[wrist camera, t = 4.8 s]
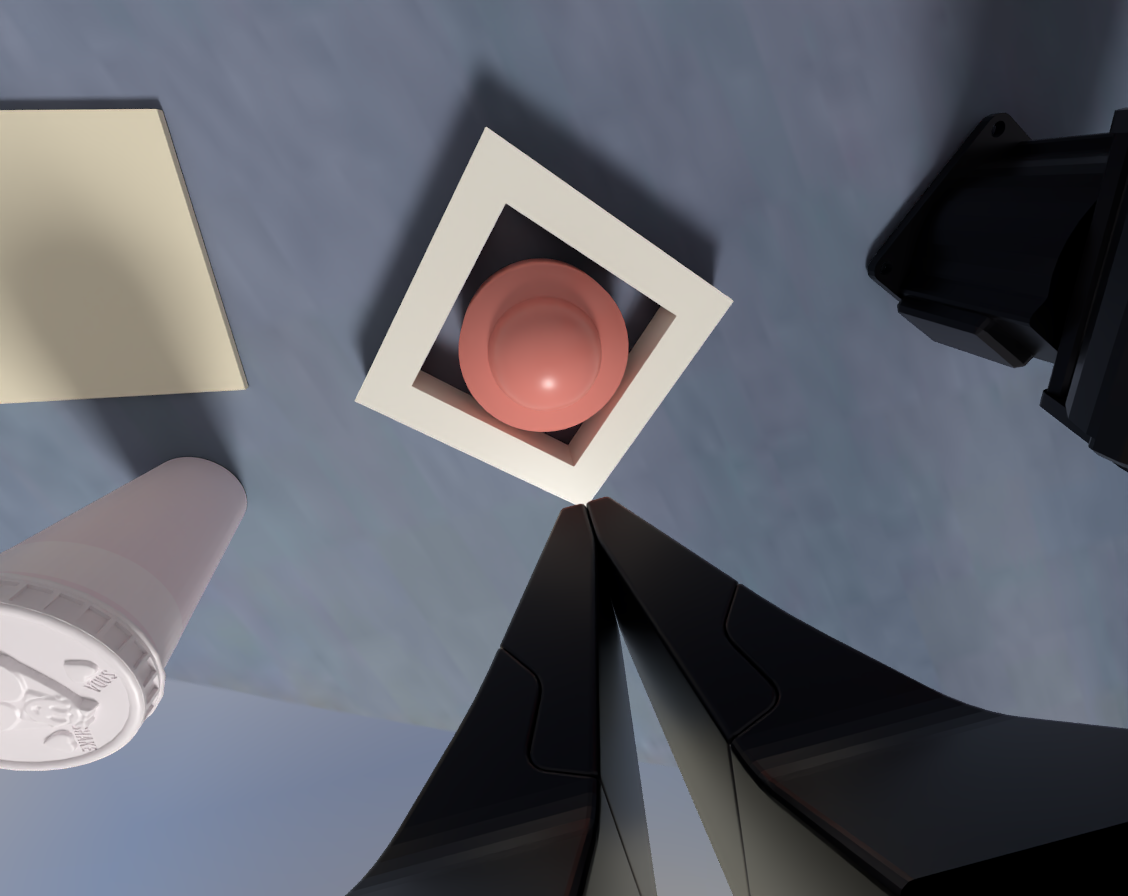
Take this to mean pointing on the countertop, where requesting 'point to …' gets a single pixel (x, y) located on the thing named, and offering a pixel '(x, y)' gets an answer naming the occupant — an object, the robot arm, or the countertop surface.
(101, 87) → the countertop surface
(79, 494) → the countertop surface
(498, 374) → the dome
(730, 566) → the countertop surface
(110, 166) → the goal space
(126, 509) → the smoothie
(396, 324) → the dome base
